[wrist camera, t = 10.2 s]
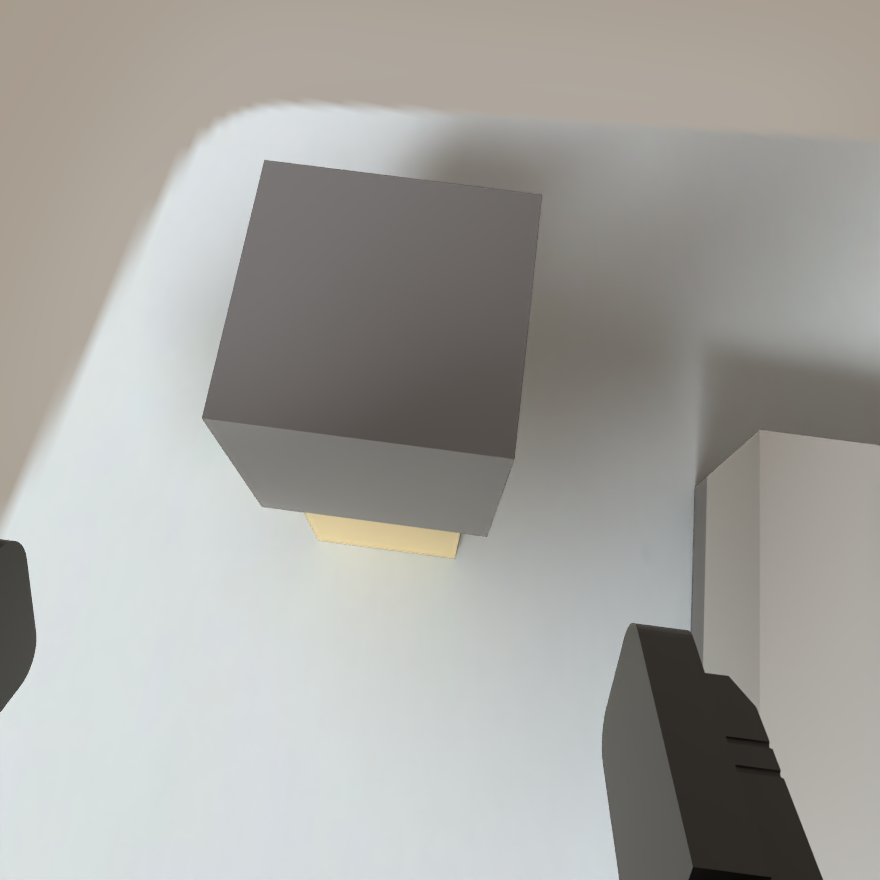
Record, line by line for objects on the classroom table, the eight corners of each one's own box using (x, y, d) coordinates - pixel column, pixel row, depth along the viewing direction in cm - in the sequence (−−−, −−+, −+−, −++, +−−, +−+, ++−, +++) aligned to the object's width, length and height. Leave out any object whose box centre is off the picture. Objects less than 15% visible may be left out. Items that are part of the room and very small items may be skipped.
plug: (490, 415, 23) (541, 194, 14) (471, 580, 21) (514, 459, 12) (326, 394, 23) (264, 160, 14) (295, 556, 22) (201, 418, 12)
